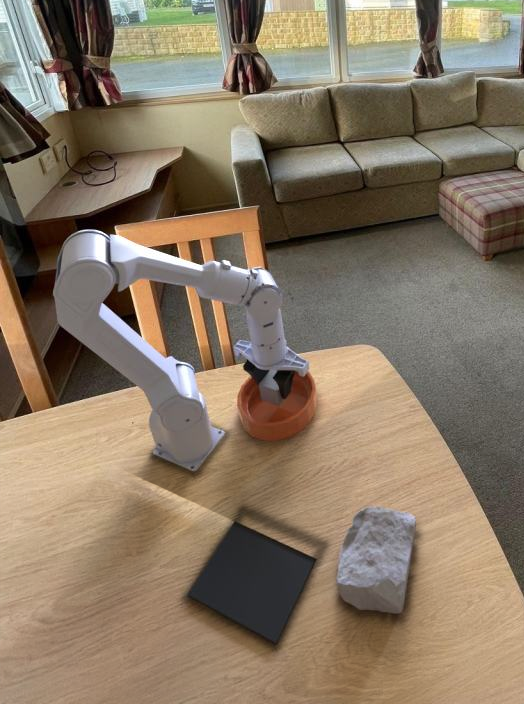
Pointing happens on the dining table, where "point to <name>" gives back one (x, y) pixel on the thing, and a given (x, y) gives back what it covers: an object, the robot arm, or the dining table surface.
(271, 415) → the bowl
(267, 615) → the mat
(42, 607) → the dining table surface
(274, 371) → the block
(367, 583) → the stone block
